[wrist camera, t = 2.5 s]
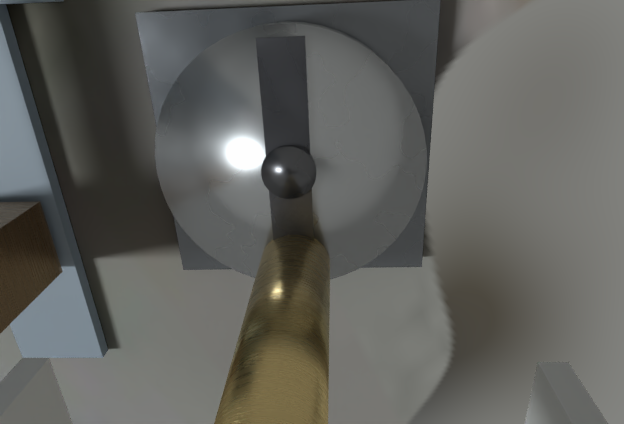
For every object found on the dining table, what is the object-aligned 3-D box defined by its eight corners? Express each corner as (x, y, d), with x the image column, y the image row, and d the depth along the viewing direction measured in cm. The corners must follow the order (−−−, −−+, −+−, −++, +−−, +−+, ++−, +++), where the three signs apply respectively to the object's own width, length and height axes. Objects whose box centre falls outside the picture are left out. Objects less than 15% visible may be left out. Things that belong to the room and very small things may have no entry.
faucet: (147, 27, 16) (-121, 62, 7) (427, 15, 16) (574, 34, 6) (191, 272, 21) (68, 506, 11) (412, 269, 20) (483, 514, 10)
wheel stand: (143, 12, 17) (131, 12, 16) (435, -2, 17) (442, -2, 16) (188, 260, 22) (181, 273, 21) (418, 257, 21) (422, 270, 20)
